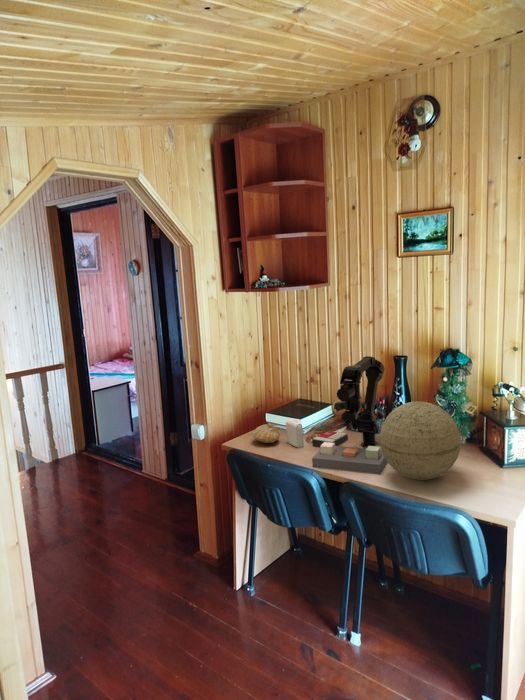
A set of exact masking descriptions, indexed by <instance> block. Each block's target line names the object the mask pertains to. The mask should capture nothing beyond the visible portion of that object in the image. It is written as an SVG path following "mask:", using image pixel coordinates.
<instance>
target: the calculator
mask: <svg viewBox="0 0 525 700" xmlns="http://www.w3.org/2000/svg"><path fill="white" fill-rule="evenodd" d="M347 441H349V435H348V434H347V433H345V432H337V431H332V430H328V431H325V432H324V433H321V434H319V435H318V436H316V437H314V438H312V441H311V442H312V447H313V448H319V449H320V446H321V445H322V444H323V443H324V442H330V443H335V446H341V445H342V444H344V443H346V442H347Z"/></svg>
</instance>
